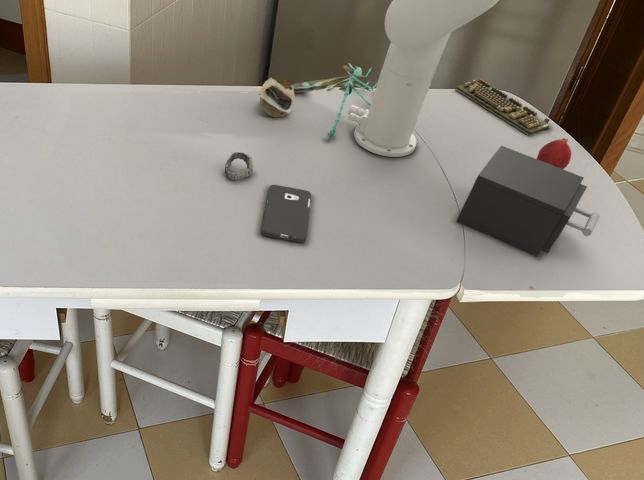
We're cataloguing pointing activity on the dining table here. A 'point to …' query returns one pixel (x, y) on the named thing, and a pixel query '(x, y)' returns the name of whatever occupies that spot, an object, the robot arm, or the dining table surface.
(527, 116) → the keyboard
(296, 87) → the insect sculpture
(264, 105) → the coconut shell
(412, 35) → the robot arm
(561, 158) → the onion
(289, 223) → the cell phone
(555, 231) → the drawer
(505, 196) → the dark grey box
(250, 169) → the wristwatch
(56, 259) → the dining table surface
